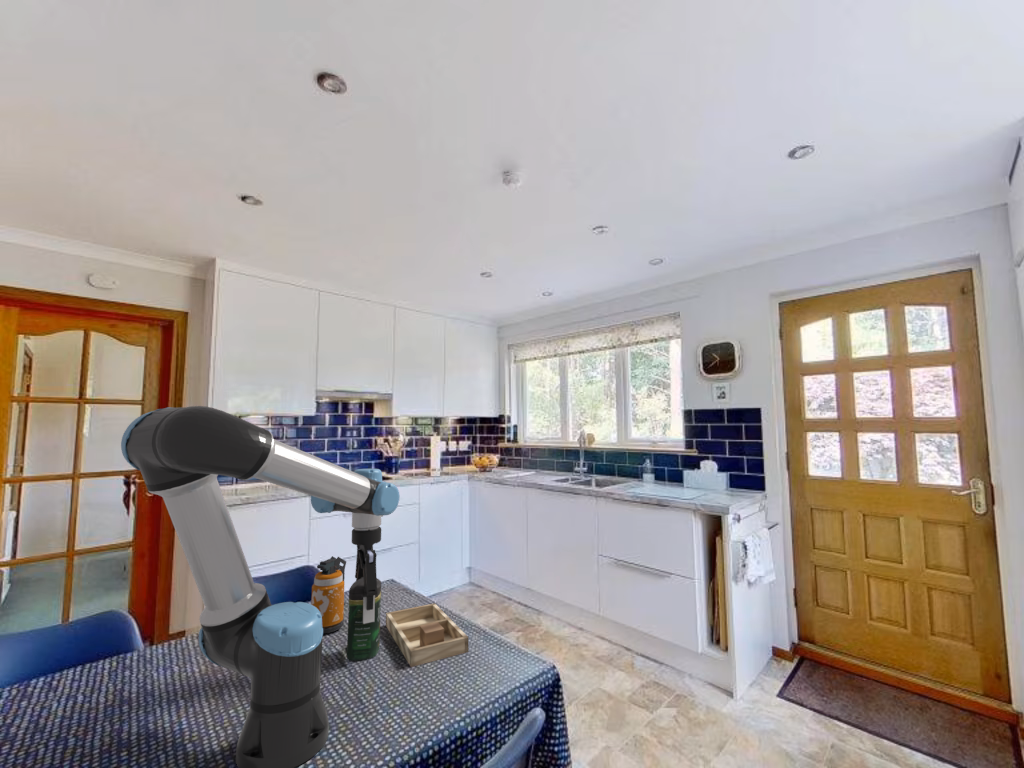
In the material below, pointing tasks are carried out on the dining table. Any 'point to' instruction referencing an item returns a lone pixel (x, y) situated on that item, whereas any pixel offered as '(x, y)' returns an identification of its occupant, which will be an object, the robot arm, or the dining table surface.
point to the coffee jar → (362, 636)
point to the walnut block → (431, 634)
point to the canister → (330, 593)
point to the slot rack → (407, 634)
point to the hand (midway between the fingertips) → (364, 614)
